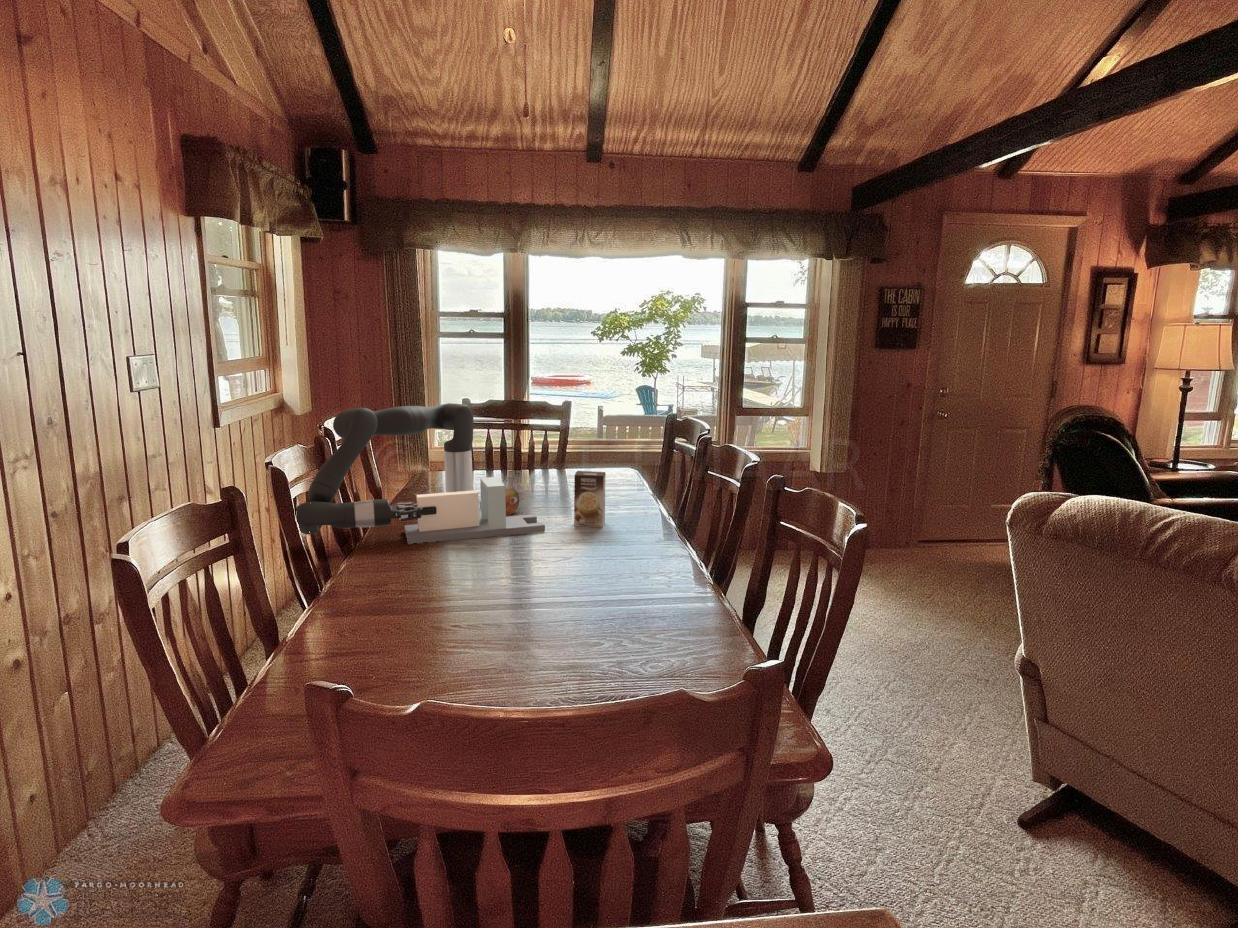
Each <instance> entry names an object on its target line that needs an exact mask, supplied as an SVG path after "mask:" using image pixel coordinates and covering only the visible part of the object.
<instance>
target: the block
mask: <svg viewBox="0 0 1238 928" xmlns="http://www.w3.org/2000/svg"><path fill="white" fill-rule="evenodd" d="M415 495H416V502H417V507H432V506H435V507H436V510H437V513H436V514H432V515H423V516H421V518H418V519H417V524H418V529H419V532H422V531H432V530H443V529H453V528H464V527H475V526H479V519H480V510H479V507H480V503H479V492H478V491H477V490H476V489H475V490H473V491H460V492H447V493H446V492H438V493H437V492H436V493H423V494H415Z"/></svg>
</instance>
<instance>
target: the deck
mask: <svg viewBox="0 0 1238 928" xmlns="http://www.w3.org/2000/svg"><path fill="white" fill-rule="evenodd" d="M537 519H538V516H537V515H536V514H535V513H534V514H524V515H523V514H522V515H511V516H509V515H508V516H506V528H505V529H494V530H489V529H488V519H486V520H482V519H481V518H479V526H475V527H464V528H453V529H443V530H432V531H422V532H419V529H418V523H415V524H406V525H404V526H403V527H404V533H405V534H406V535H405V539H406V538H407V539H406V543H407V545H413V543H417V544H424V543H423V542H428V543H435V542H436V541H439V542H447V541H449V540H450V541H458V540H468V539H481V538H491V537H501V536H511V535H524V534H533V533H543V532H544V531H545V532H546V525H545V524H544V522H538V520H537ZM436 543H437V542H436Z"/></svg>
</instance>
